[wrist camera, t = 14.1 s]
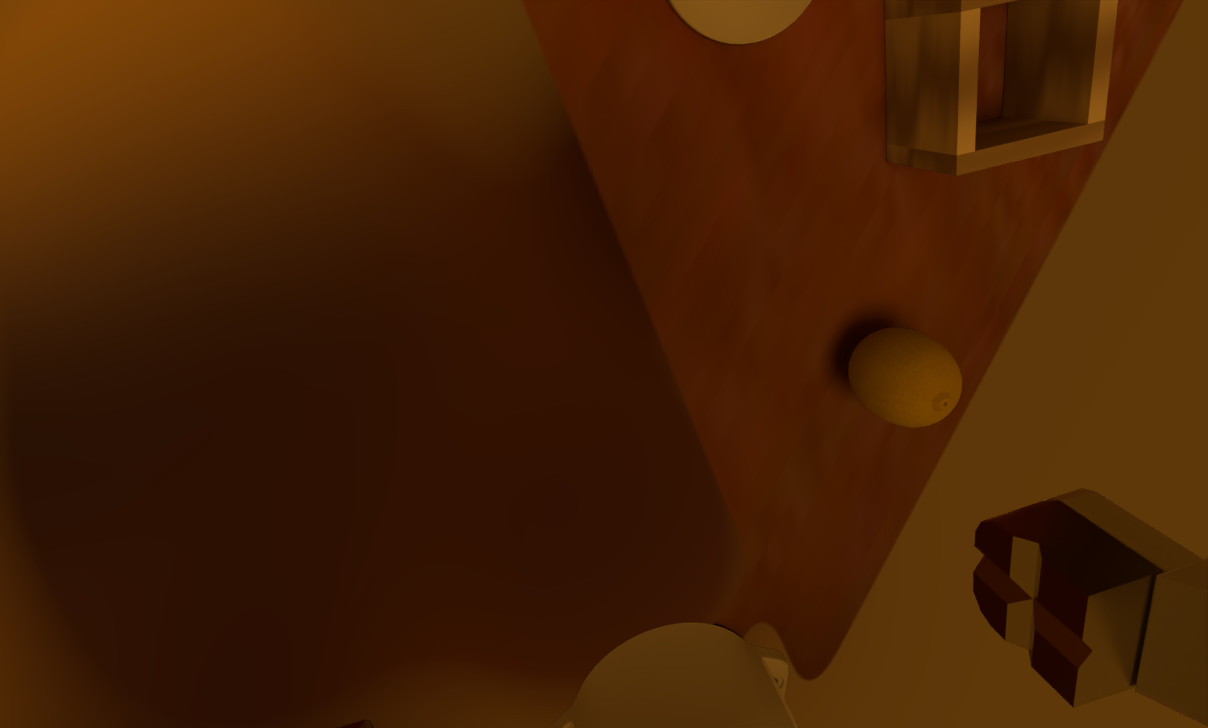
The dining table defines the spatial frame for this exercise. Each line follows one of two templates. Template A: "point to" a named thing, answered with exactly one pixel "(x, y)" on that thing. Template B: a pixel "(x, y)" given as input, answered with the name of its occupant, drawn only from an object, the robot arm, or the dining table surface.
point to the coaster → (738, 18)
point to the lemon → (905, 377)
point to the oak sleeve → (1031, 82)
